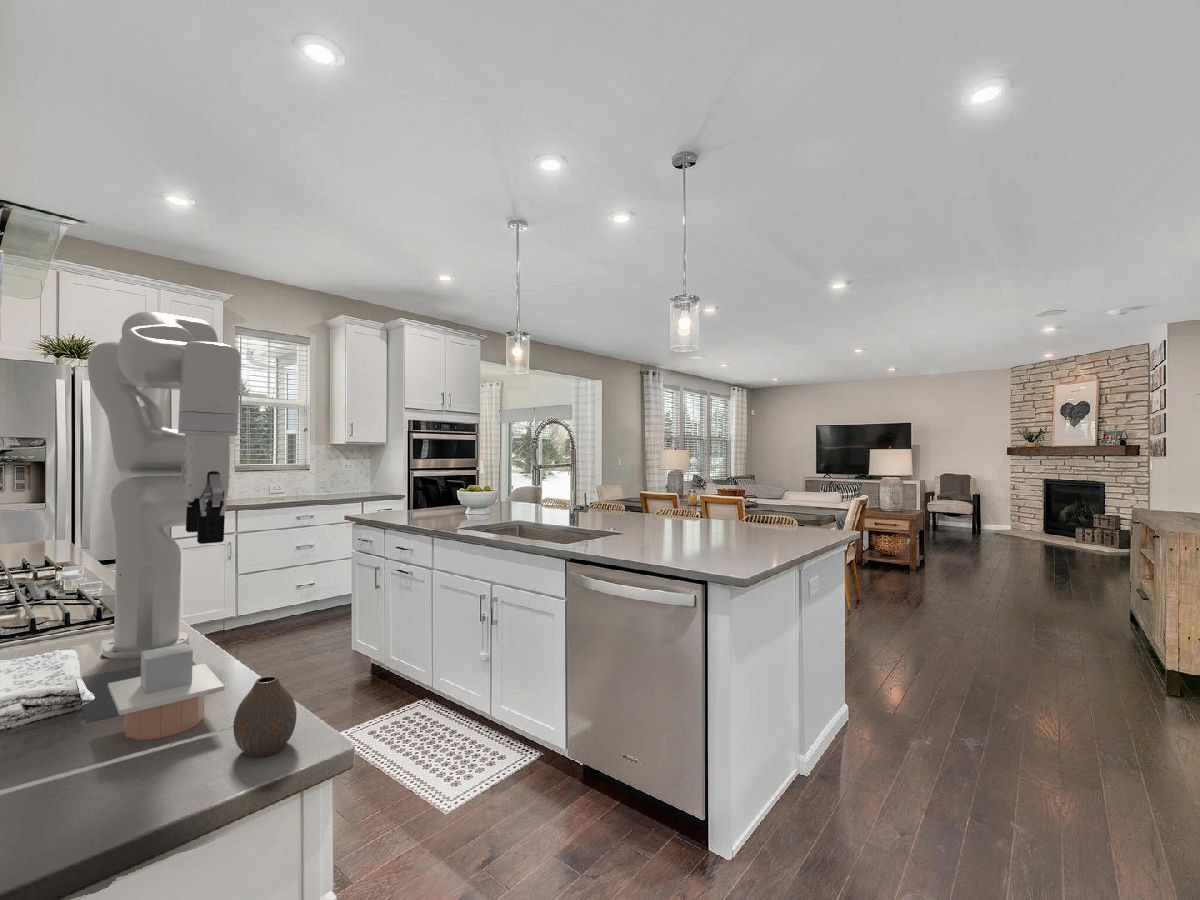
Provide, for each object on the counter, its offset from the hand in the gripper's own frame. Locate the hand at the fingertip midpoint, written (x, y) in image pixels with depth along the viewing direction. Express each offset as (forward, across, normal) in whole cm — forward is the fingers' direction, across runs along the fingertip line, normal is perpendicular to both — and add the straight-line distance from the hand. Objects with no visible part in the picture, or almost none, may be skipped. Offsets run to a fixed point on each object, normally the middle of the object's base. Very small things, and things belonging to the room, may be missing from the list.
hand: (204, 536), depth 89 cm
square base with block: (+18, +10, -5) cm, 22 cm away
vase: (+23, +25, +3) cm, 34 cm away
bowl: (+23, +11, -5) cm, 26 cm away
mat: (+24, -6, -6) cm, 26 cm away
